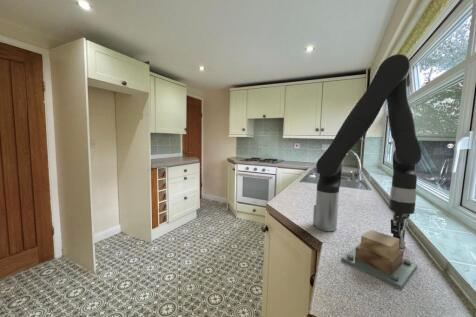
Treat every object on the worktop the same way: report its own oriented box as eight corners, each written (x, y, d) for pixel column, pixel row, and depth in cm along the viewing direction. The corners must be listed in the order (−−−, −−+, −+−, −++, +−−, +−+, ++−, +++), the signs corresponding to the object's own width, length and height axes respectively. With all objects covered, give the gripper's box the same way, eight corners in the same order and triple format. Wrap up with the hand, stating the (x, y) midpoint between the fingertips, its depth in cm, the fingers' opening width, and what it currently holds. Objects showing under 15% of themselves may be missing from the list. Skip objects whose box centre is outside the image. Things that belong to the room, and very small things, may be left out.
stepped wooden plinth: (355, 258, 66) (356, 235, 65) (367, 249, 72) (369, 227, 71) (391, 275, 58) (394, 249, 57) (402, 263, 64) (404, 239, 63)
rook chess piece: (390, 241, 80) (392, 221, 79) (405, 244, 77) (407, 225, 77) (390, 245, 77) (392, 225, 76) (405, 249, 74) (407, 228, 73)
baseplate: (341, 260, 67) (341, 255, 67) (361, 245, 76) (362, 241, 76) (400, 289, 54) (401, 283, 54) (416, 267, 64) (417, 262, 63)
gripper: (396, 193, 83) (392, 233, 84) (383, 199, 74) (379, 243, 76) (420, 198, 77) (415, 240, 78) (409, 205, 68) (404, 252, 70)
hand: (398, 242), depth 77 cm, fingers closed on rook chess piece, 4 cm apart
